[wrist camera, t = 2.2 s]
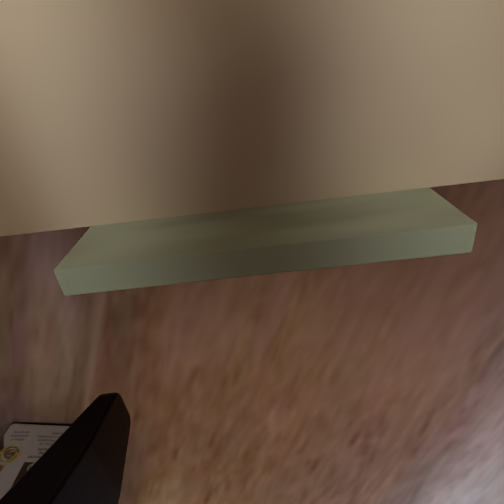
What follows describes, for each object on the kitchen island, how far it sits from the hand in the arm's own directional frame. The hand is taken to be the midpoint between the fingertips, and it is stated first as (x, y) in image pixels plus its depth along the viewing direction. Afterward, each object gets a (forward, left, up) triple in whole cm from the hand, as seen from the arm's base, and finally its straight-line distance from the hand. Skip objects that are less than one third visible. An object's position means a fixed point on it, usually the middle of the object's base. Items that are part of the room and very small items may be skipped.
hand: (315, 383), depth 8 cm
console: (+1, -6, -10) cm, 12 cm away
